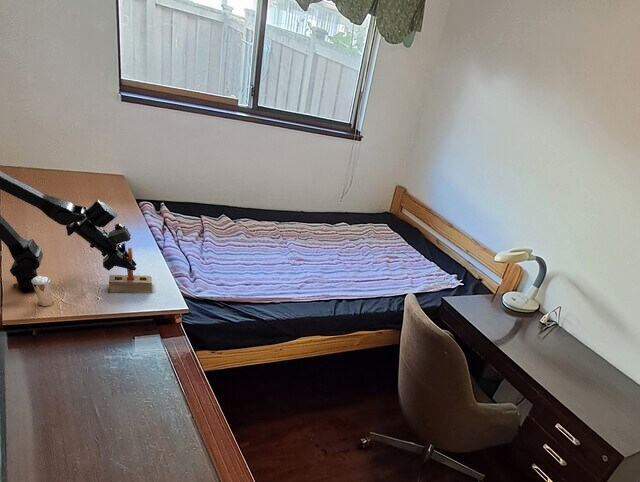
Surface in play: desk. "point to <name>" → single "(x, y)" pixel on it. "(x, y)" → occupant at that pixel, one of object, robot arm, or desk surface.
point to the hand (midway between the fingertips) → (135, 267)
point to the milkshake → (42, 290)
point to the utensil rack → (130, 284)
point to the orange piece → (130, 258)
